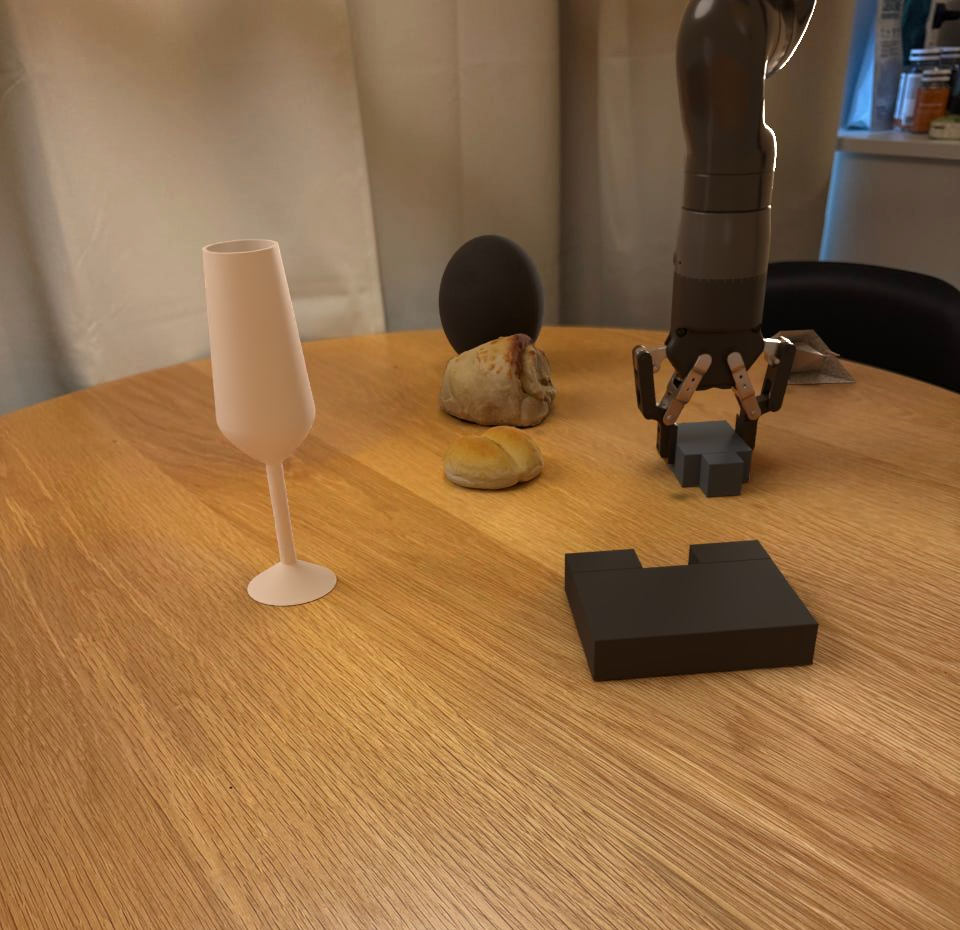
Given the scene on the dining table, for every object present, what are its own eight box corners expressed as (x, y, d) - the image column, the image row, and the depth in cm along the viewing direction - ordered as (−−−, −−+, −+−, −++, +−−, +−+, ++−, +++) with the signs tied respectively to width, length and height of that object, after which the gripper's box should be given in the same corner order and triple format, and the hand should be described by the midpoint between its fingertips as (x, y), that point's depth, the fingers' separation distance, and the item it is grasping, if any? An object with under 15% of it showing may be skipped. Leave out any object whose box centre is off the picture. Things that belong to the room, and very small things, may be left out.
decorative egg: (452, 388, 115) (444, 249, 107) (434, 359, 125) (426, 230, 117) (557, 377, 116) (557, 240, 109) (531, 349, 127) (529, 222, 119)
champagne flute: (355, 582, 75) (315, 243, 63) (280, 615, 71) (222, 261, 59) (302, 555, 80) (255, 232, 67) (229, 585, 76) (165, 248, 63)
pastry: (573, 423, 103) (574, 344, 99) (455, 437, 101) (451, 357, 97) (534, 383, 115) (533, 312, 111) (427, 396, 113) (422, 323, 108)
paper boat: (830, 354, 116) (889, 351, 108) (808, 406, 117) (866, 407, 108) (754, 306, 111) (811, 299, 103) (732, 361, 111) (786, 359, 103)
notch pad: (753, 576, 74) (758, 539, 72) (812, 664, 63) (819, 623, 62) (564, 590, 73) (564, 553, 71) (593, 681, 63) (594, 640, 61)
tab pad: (723, 450, 95) (726, 419, 94) (758, 493, 86) (761, 460, 85) (660, 454, 95) (662, 424, 93) (689, 498, 86) (691, 465, 84)
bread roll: (428, 472, 93) (425, 430, 91) (510, 451, 97) (509, 411, 95) (473, 501, 87) (471, 457, 85) (558, 477, 91) (558, 435, 89)
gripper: (643, 280, 79) (634, 480, 88) (823, 269, 80) (796, 469, 88) (624, 261, 85) (617, 449, 94) (790, 251, 86) (768, 439, 95)
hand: (704, 458), depth 91 cm, fingers closed on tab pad, 6 cm apart
